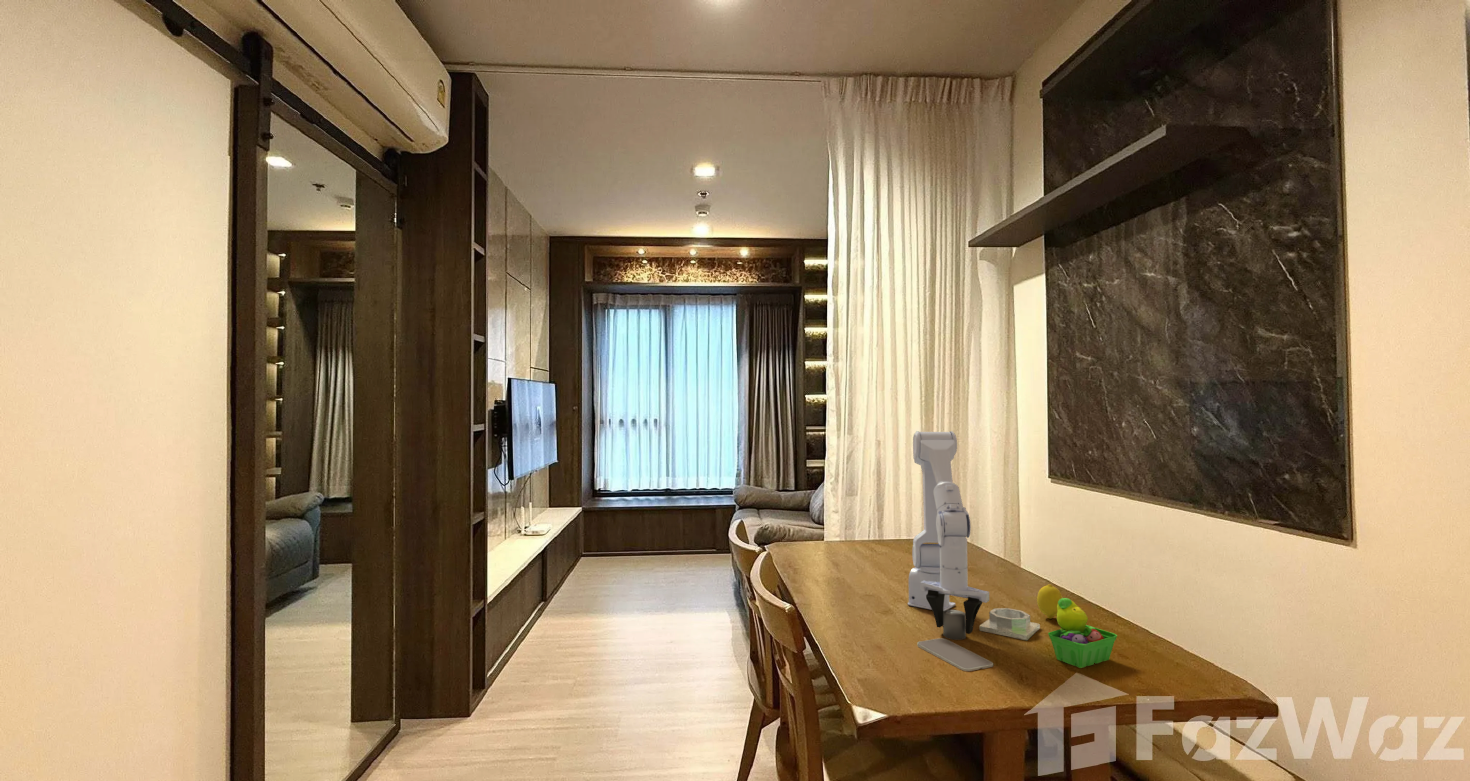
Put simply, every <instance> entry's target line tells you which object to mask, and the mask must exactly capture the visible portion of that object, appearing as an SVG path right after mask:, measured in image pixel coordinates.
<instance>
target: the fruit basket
mask: <svg viewBox="0 0 1470 781" xmlns="http://www.w3.org/2000/svg"><path fill="white" fill-rule="evenodd" d="M1057 610H1058V612H1057V616H1056V621H1057V624H1058V625H1059V626H1058V627H1060V628H1059V629H1057V630H1053V631H1050V632H1048V633H1047V634H1048V637H1049V639H1050V641H1051V644H1052V645H1051V646H1052V648H1053V650H1054V654H1055V658H1056V660H1058V661H1060V662H1063V663H1066V664H1068V665H1071V666H1074V667H1077V668H1079V669H1082V668H1086V667H1089V666H1094V665H1095V664H1100V663H1102V662H1107V661H1110V659H1111V655H1112V654H1111V653H1112V651H1113V647H1114V644H1115V641H1116V640H1117V638H1118V635H1117V634H1116V633H1114V632H1110V631H1107V630H1105V629H1100V628H1097V627H1094V626H1091V625H1087V622H1088V619H1089V618H1088V615H1087V613H1086V612H1085V611H1084V609H1082V608H1081V607H1080V606H1079V605H1077V604H1076V603H1075V601H1073V600H1072V599H1070V598H1068V597H1062V598H1061V599H1060V600H1059V601H1058V605H1057ZM1094 663H1095V664H1094Z"/></svg>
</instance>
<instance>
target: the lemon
mask: <svg viewBox="0 0 1470 781" xmlns="http://www.w3.org/2000/svg"><path fill="white" fill-rule="evenodd" d="M1036 596H1037V598H1036V604H1037V606H1038V609H1039V611H1040V613H1042V614H1043V615H1046V617H1047V618H1048V619H1052V618H1054V617H1057V612H1058V610H1057V605H1058V601H1059V600H1060V599H1061V598H1063V596H1062V593H1061V591H1060V590H1059V589H1058V588H1057V587H1055V586H1053V585H1052V584H1049V583H1048V584H1047V585H1044V586H1042V587H1041V588H1040V589H1039V590H1038V592H1037V595H1036Z"/></svg>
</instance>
